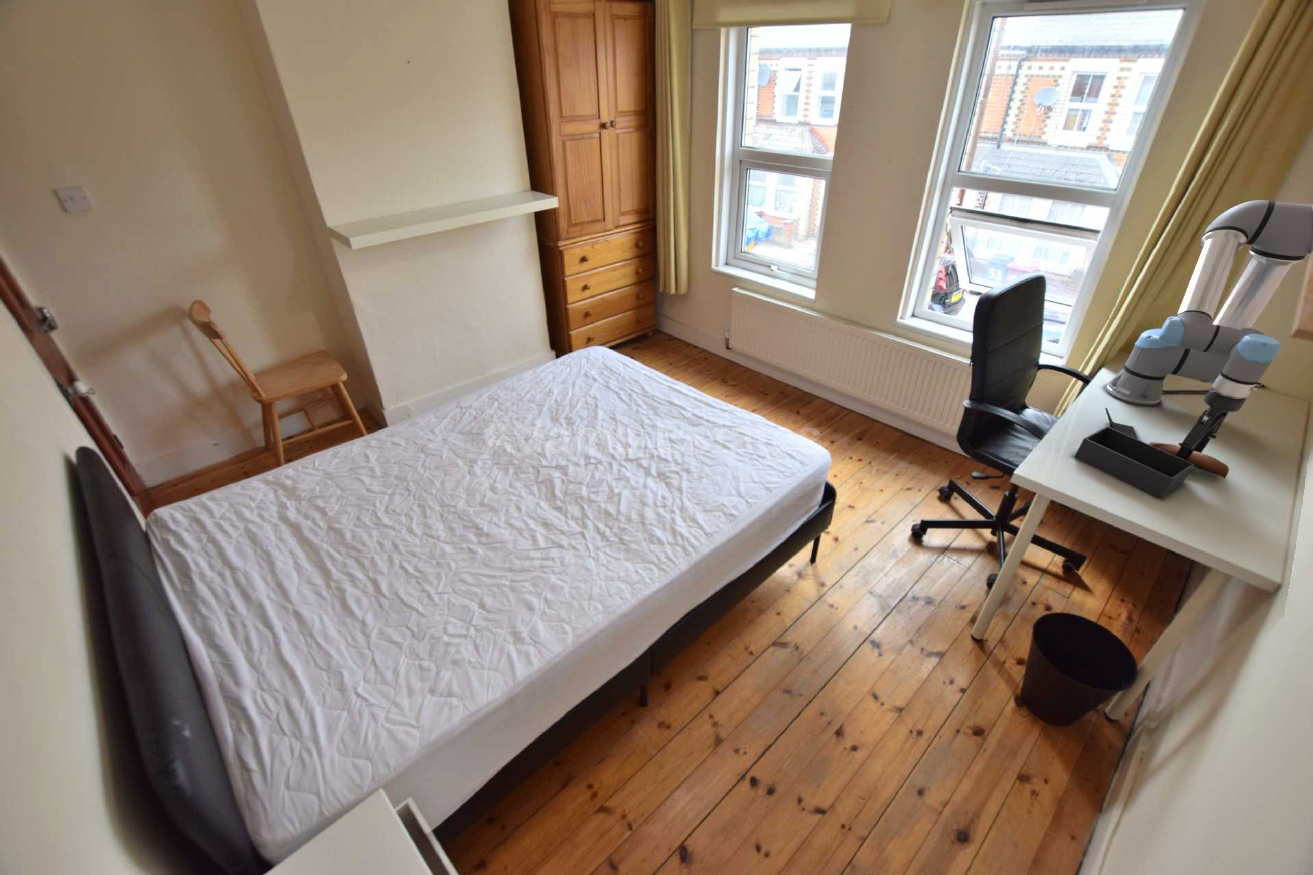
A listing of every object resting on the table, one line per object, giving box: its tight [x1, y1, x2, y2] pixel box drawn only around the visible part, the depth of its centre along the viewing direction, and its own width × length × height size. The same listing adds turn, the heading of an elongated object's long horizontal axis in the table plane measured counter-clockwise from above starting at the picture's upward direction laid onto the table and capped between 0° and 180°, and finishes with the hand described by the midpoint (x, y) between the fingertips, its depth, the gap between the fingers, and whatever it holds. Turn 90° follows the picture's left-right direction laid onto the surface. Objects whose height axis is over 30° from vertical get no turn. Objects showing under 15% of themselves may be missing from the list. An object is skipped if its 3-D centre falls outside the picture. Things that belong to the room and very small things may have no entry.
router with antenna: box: [1104, 407, 1138, 439], centre depth 177 cm, size 12×7×10 cm
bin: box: [1074, 425, 1195, 500], centre depth 161 cm, size 13×22×7 cm, turn 31°
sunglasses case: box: [1148, 441, 1230, 480], centre depth 164 cm, size 18×7×7 cm
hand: (1184, 460), depth 165 cm, fingers closed on sunglasses case, 9 cm apart
